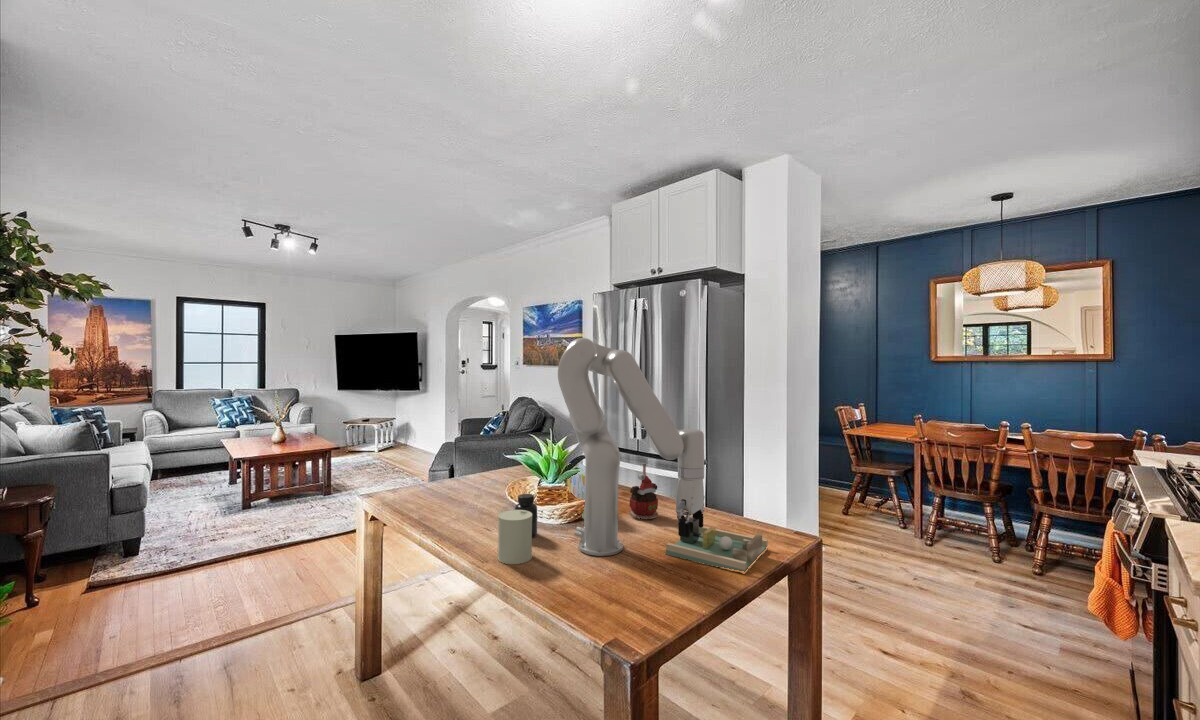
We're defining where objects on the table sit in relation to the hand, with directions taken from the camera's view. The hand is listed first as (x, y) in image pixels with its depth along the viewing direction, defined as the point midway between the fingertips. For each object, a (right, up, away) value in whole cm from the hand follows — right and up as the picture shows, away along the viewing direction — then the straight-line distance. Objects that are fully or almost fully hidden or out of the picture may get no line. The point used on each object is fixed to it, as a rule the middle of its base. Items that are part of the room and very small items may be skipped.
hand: (691, 531), depth 145 cm
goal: (+14, -3, -10) cm, 17 cm away
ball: (+8, -1, -6) cm, 11 cm away
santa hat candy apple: (-12, -4, +26) cm, 28 cm away
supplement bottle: (-49, -4, +6) cm, 49 cm away
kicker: (+1, -3, -1) cm, 3 cm away
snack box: (-33, -4, +30) cm, 45 cm away
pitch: (+6, -4, -5) cm, 9 cm away
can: (-49, -4, -10) cm, 51 cm away
